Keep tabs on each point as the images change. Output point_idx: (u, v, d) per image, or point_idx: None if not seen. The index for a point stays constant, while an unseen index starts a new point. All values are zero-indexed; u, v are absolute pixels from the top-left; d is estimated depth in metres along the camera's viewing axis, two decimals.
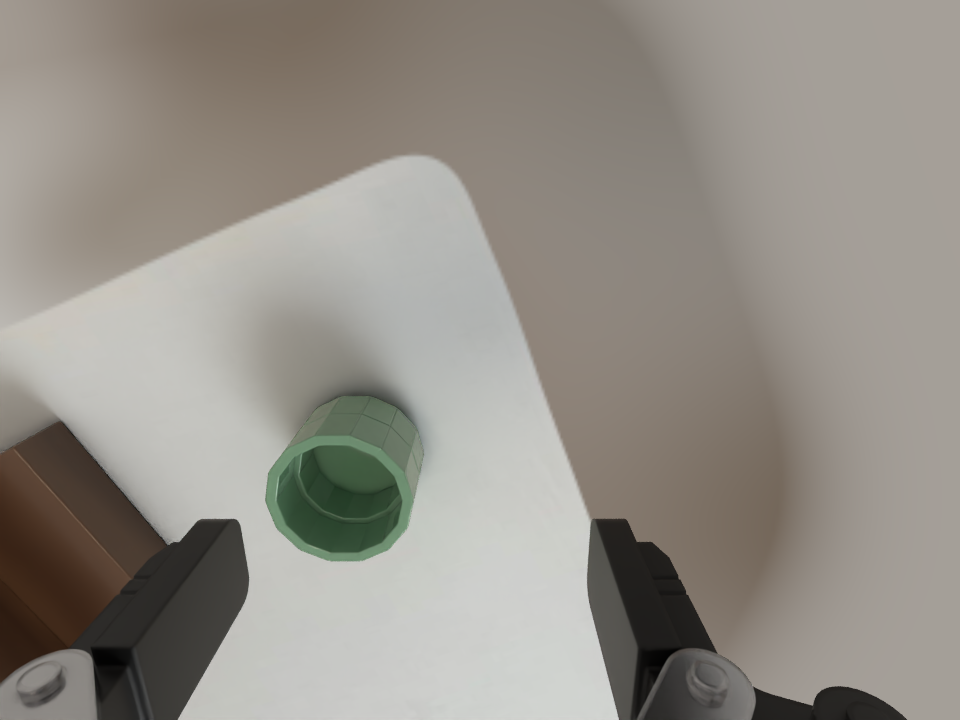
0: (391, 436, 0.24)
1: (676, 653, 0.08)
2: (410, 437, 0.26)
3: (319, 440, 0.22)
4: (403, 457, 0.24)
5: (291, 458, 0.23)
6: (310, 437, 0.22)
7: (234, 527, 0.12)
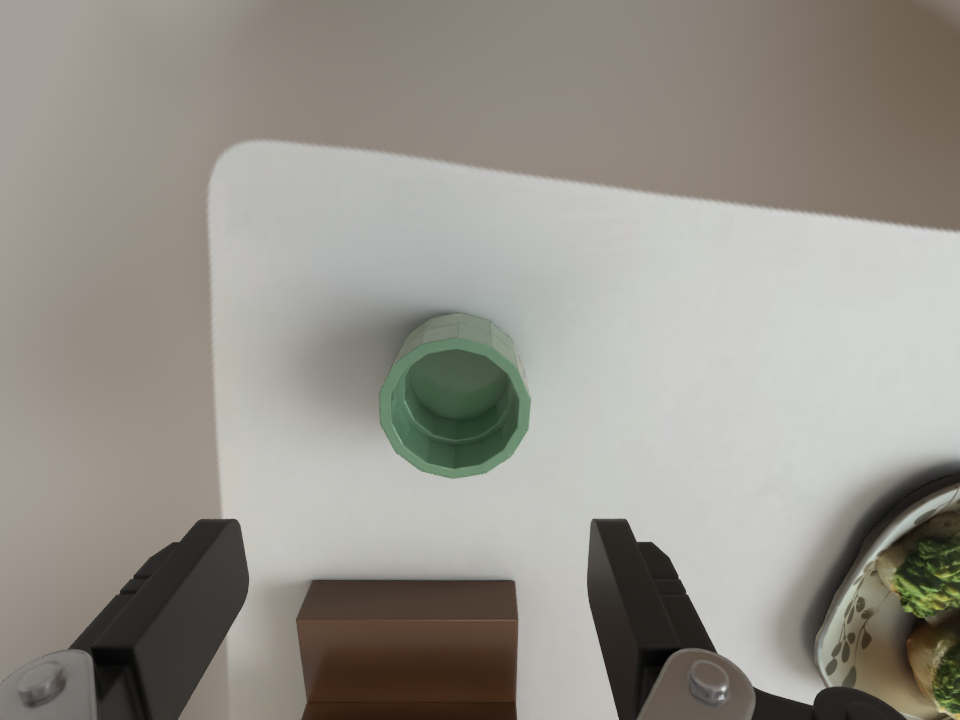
0: (430, 332, 0.23)
1: (676, 653, 0.08)
2: (455, 319, 0.24)
3: (385, 391, 0.22)
4: (451, 332, 0.22)
5: (391, 425, 0.23)
6: (379, 397, 0.22)
7: (234, 527, 0.12)
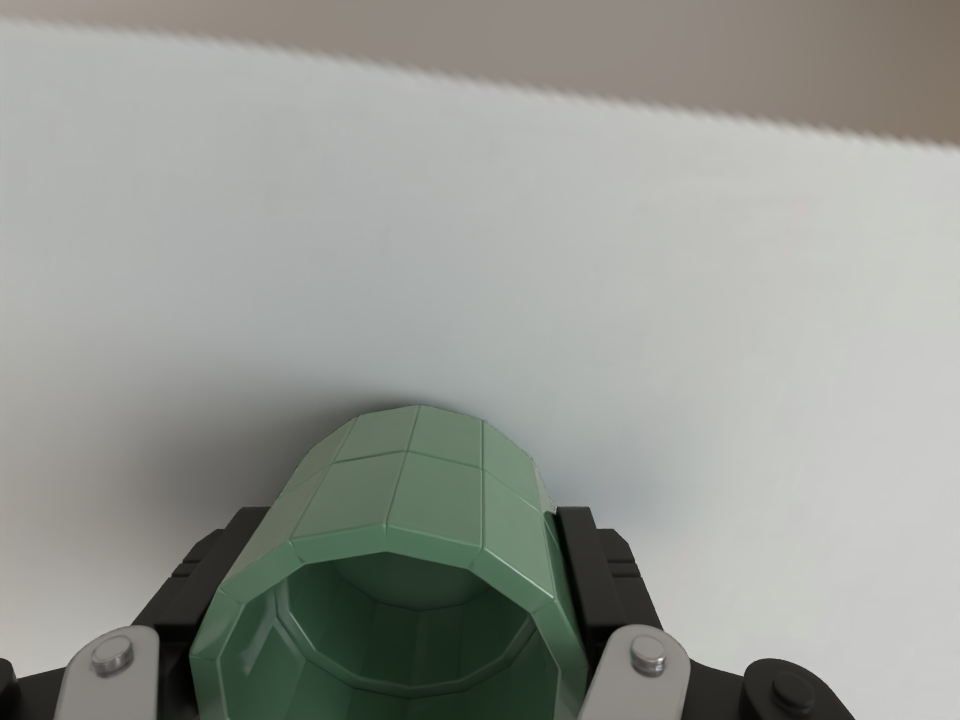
0: (332, 481, 0.09)
1: (621, 628, 0.08)
2: (402, 431, 0.11)
3: (204, 653, 0.08)
4: (378, 491, 0.09)
5: None
6: (190, 664, 0.09)
7: None
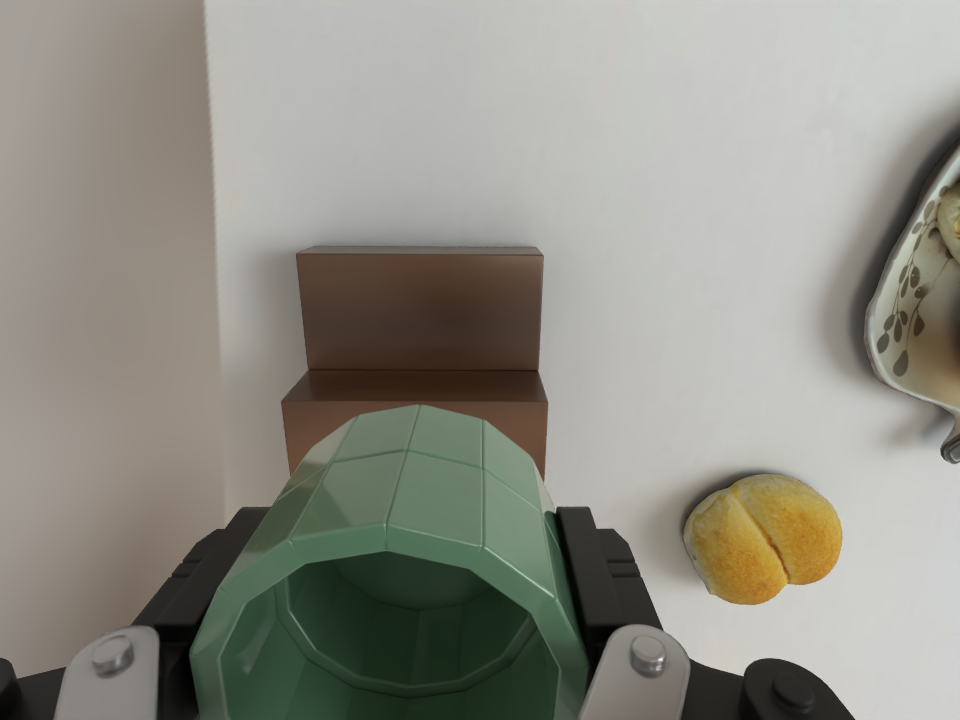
0: (332, 480, 0.09)
1: (620, 629, 0.08)
2: (403, 431, 0.11)
3: (204, 652, 0.08)
4: (379, 490, 0.09)
5: None
6: (190, 664, 0.09)
7: None
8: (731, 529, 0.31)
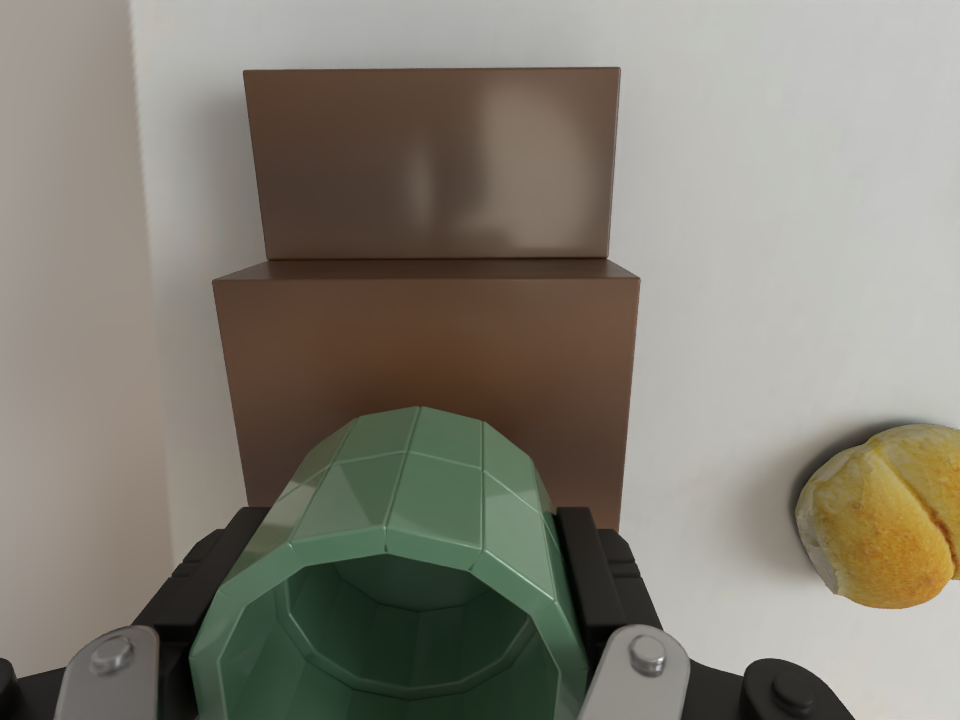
0: (332, 483, 0.09)
1: (621, 629, 0.08)
2: (402, 433, 0.11)
3: (204, 655, 0.08)
4: (378, 493, 0.09)
5: None
6: (190, 666, 0.09)
7: None
8: (877, 499, 0.22)
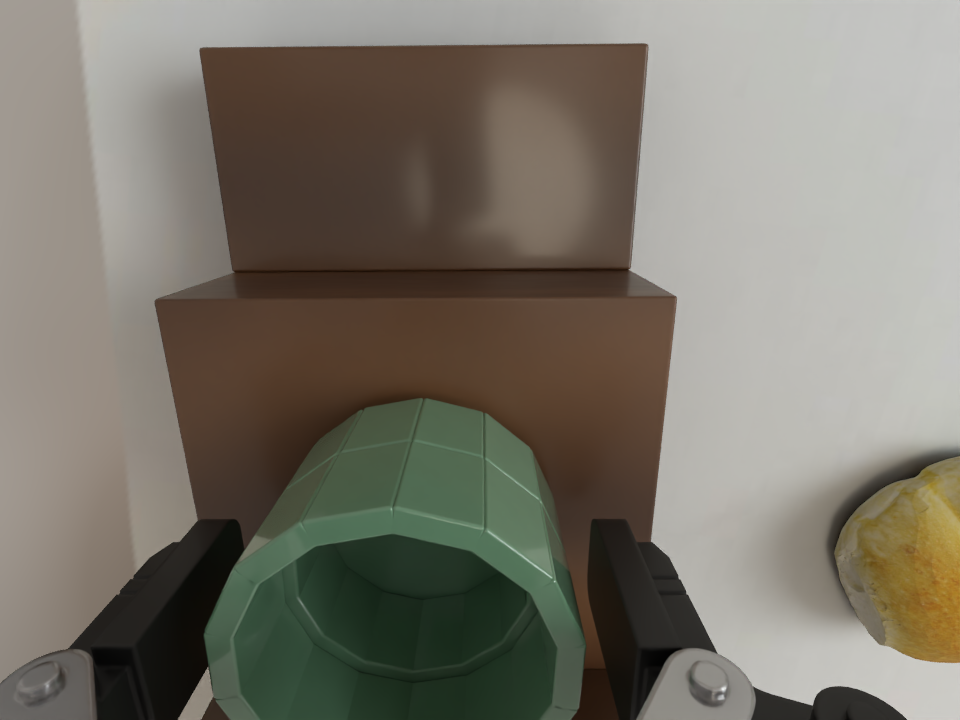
0: (340, 469, 0.10)
1: (676, 653, 0.08)
2: (407, 423, 0.11)
3: (219, 632, 0.09)
4: (385, 477, 0.09)
5: (241, 701, 0.09)
6: (205, 643, 0.09)
7: (234, 527, 0.12)
8: (935, 543, 0.19)
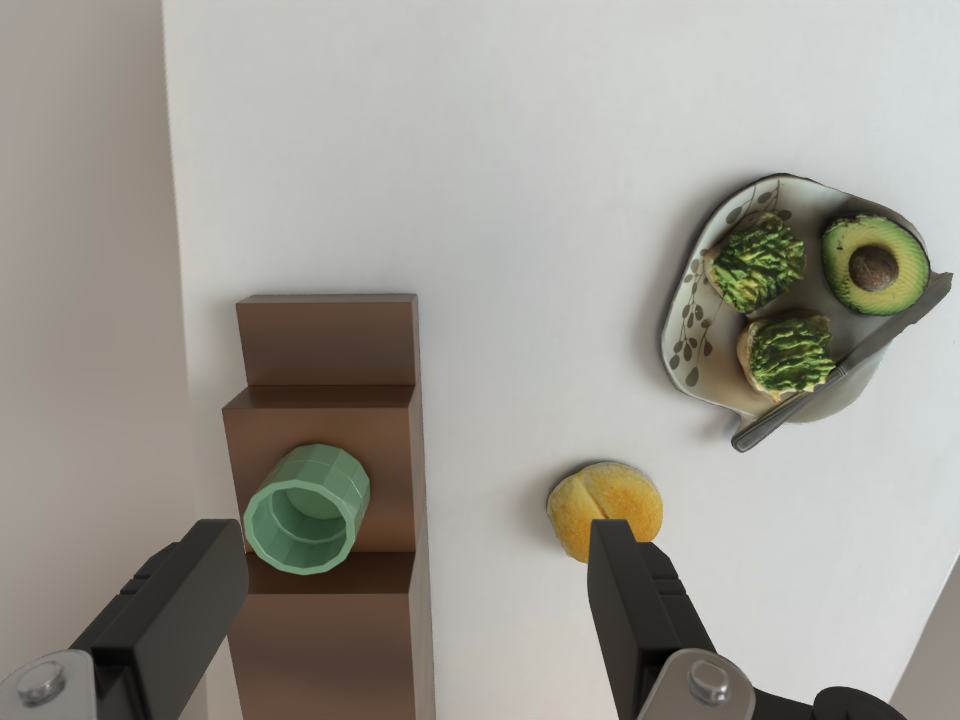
0: (284, 469, 0.31)
1: (676, 653, 0.08)
2: (308, 453, 0.33)
3: (247, 516, 0.31)
4: (295, 471, 0.31)
5: (254, 538, 0.31)
6: None
7: (234, 527, 0.12)
8: (573, 503, 0.41)
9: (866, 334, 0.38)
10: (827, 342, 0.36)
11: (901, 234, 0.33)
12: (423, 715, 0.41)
